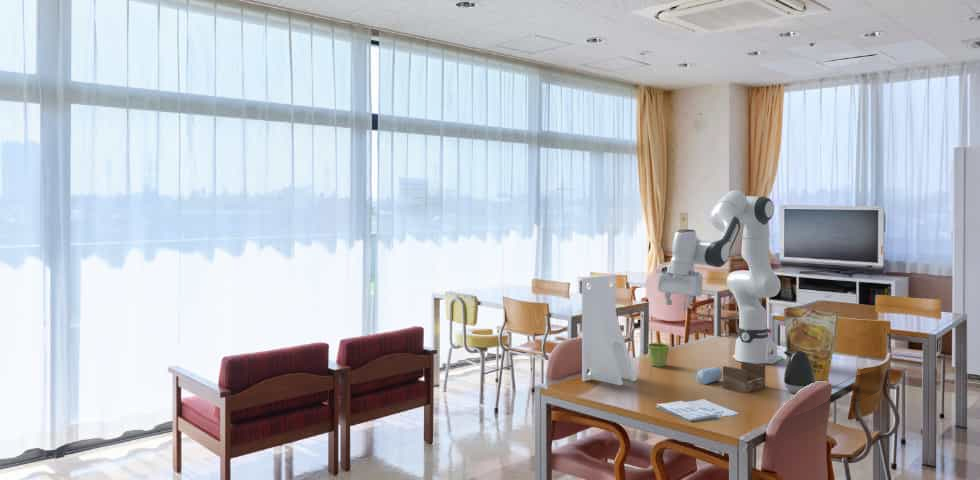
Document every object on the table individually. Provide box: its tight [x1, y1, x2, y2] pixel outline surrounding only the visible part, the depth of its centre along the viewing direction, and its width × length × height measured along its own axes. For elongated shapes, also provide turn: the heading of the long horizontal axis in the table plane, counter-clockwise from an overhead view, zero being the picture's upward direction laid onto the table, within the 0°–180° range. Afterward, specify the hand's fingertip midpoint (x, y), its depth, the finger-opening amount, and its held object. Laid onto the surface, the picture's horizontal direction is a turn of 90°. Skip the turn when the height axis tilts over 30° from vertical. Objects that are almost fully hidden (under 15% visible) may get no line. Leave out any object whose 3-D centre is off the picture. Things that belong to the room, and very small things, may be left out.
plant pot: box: [647, 342, 671, 368], centre depth 301 cm, size 9×9×9 cm
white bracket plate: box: [581, 273, 637, 386], centre depth 276 cm, size 20×14×40 cm
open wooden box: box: [722, 361, 766, 393], centre depth 263 cm, size 14×9×8 cm, turn 130°
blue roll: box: [696, 366, 723, 385], centre depth 271 cm, size 9×5×5 cm, turn 130°
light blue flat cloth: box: [655, 398, 740, 423], centre depth 232 cm, size 19×20×2 cm
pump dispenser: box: [783, 350, 815, 395], centre depth 254 cm, size 10×10×15 cm
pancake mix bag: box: [783, 306, 839, 383], centre depth 269 cm, size 7×19×28 cm, turn 42°
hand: (677, 306), depth 275 cm, fingers open, 8 cm apart
